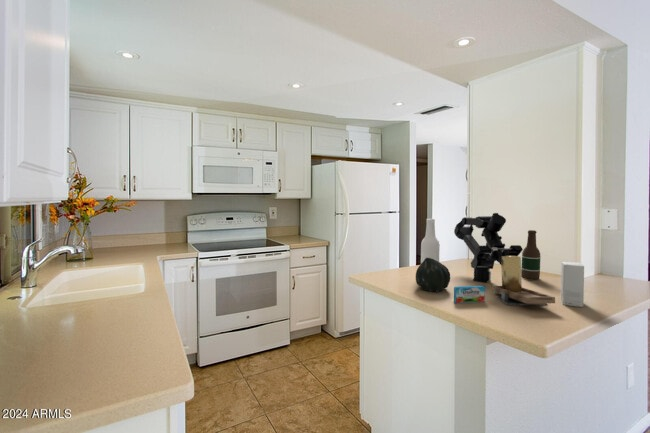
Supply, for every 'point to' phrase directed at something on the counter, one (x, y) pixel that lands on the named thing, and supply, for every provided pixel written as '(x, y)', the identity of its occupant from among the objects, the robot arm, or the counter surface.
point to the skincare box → (572, 284)
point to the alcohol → (430, 242)
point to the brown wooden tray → (526, 296)
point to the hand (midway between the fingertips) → (505, 267)
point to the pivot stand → (512, 300)
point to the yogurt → (469, 294)
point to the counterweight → (511, 273)
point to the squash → (432, 275)
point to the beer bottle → (531, 258)
